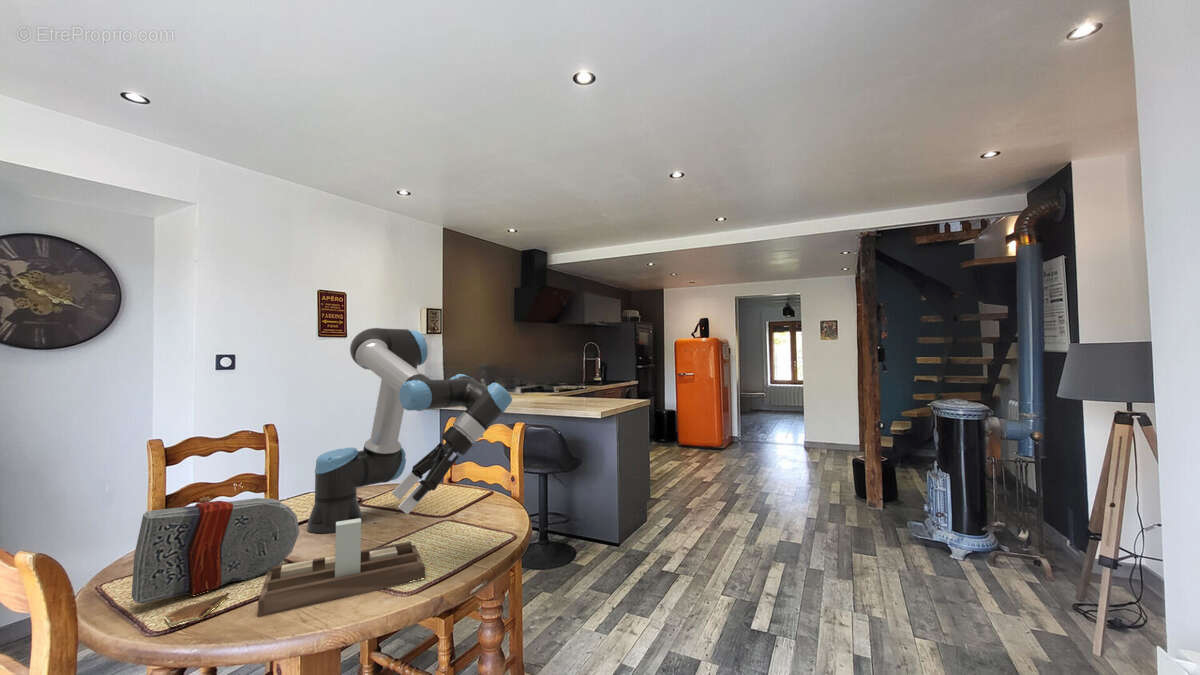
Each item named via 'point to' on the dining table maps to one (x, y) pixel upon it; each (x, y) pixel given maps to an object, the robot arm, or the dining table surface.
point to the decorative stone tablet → (209, 546)
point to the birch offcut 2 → (329, 562)
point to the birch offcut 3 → (382, 553)
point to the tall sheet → (348, 547)
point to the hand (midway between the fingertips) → (398, 503)
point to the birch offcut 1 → (296, 568)
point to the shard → (194, 610)
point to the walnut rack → (339, 580)
